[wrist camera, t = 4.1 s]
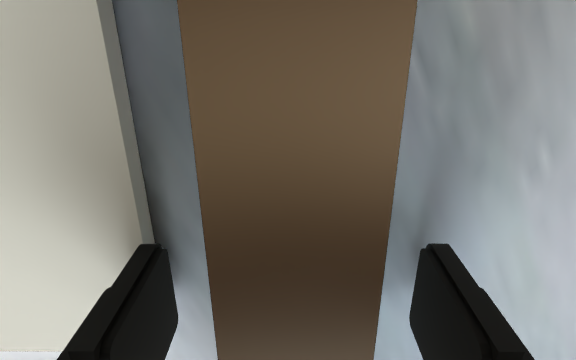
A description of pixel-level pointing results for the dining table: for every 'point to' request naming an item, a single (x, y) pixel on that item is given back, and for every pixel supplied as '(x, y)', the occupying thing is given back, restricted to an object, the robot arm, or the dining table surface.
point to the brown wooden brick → (296, 167)
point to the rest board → (63, 169)
